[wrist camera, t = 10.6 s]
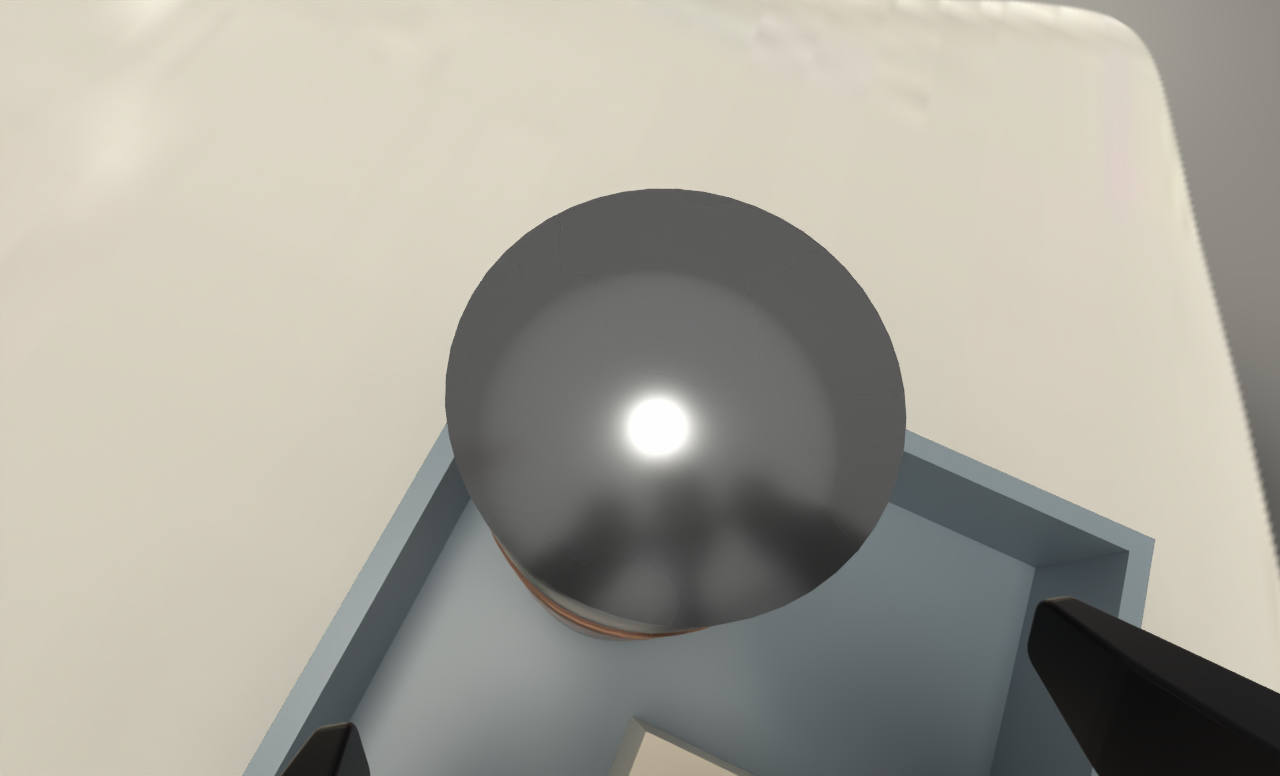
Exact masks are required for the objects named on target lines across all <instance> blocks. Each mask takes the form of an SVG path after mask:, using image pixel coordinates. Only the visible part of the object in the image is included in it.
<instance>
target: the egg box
mask: <svg viewBox="0 0 1280 776" xmlns="http://www.w3.org/2000/svg"><path fill="white" fill-rule="evenodd" d="M608 776H755V775H753V774H751V773H749V772H747V771H745V770H743V769H741V768H739V767H736V766H734V765H732V764H730V763H728V762H726V761H724V760H722V759H720V758H718V757H716V756H714V755H712V754H709V753H707V752H705V751H703V750H701V749H699V748H697V747H695V746H693V745H691V744H689V743H687V742H684V741H682V740H680V739H678V738H676V737H674V736H672V735H670V734H668V733H666V732H664V731H662V730H660V729H657V728H655V727H653V726H651V725H649V724H647V723H645V722H643V721H641V720H639V719H637V718H635V717H631V719H630V722H629V724H628V727H627V729H626V731H625V734H624V736H623V739H622V741H621V744H620V746H619V749H618V751H617V754H616V756H615V759H614V761H613V764H612V766H611V769H610V771H609V774H608Z"/></svg>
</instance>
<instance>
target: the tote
mask: <svg viewBox="0 0 1280 776" xmlns="http://www.w3.org/2000/svg"><path fill="white" fill-rule="evenodd" d="M1154 543H1155V539H1153V538H1150V537H1148V536H1146V535H1144V534H1141V533H1139V532H1137V531H1135V530H1132V529H1130V528H1128V527H1126V526H1123V525H1121V524H1119V523H1116V522H1114V521H1112V520H1110V519H1107V518H1105V517H1103V516H1101V515H1098V514H1096V513H1094V512H1092V511H1089V510H1087V509H1085V508H1083V507H1080V506H1078V505H1076V504H1073V503H1071V502H1069V501H1067V500H1064V499H1062V498H1060V497H1058V496H1055V495H1053V494H1051V493H1049V492H1046V491H1044V490H1042V489H1040V488H1037V487H1035V486H1033V485H1030V484H1028V483H1026V482H1024V481H1021V480H1019V479H1017V478H1015V477H1012V476H1010V475H1008V474H1006V473H1003V472H1001V471H999V470H997V469H994V468H992V467H990V466H987V465H985V464H983V463H981V462H978V461H976V460H974V459H972V458H969V457H967V456H965V455H963V454H960V453H958V452H956V451H954V450H951V449H949V448H947V447H944V446H942V445H940V444H938V443H935V442H933V441H931V440H929V439H926V438H924V437H922V436H920V435H917V434H915V433H913V432H911V431H908V430H905V446H904V451H903V456H902V461H901V466H900V470H899V475H898V478H897V480H896V483H895V486H894V489H893V492H892V494H891V497H890V500H889V502H888V504H887V506H886V508H885V510H884V512H883V514H882V515H881V517H880V519H879V521H878V523H877V525H876V527H875V528H874V530H873V531H872V532H871V534H870V535H869V536H868V538H867V539H866V541H865V542H864V543H863V545H862V546H861V547H860V549H859V550H858V551H857V552H856V553H855V554H854V555H853V556H852V557H851V558H850V559H849V560H848V561H847V562H846V563H845V564H844V565H843V566H842V567H841V569H840V570H839V571H838V572H837V573H835V574H834V575H833V576H831V577H830V578H829V579H827V580H826V581H825V582H823V583H822V584H821V585H819V586H818V587H817V588H815V589H814V590H813V591H811V592H809V593H808V594H806V595H804V596H802V597H800V598H798V599H797V600H795V601H793V602H791V603H789V604H787V605H786V606H784V607H781V608H778V609H776V610H773V611H770V612H767V613H765V614H762V615H759V616H757V617H754V618H750V619H745V620H740V621H736V622H731V623H726V624H722V625H716V626H712V627H709V628H706V629H704V630H700V631H695V632H691V633H686V634H681V635H676V636H669V637H661V638H654V639H647V640H637V641H612V640H602V639H597V638H592V637H589V636H586V635H583V634H580V633H577V632H575V631H574V630H572V629H570V628H568V627H566V626H564V625H563V624H562V623H560V622H559V621H557V620H556V619H555V618H553V617H552V616H551V615H550V614H549V613H548V612H547V611H546V610H545V609H544V608H543V607H542V606H541V605H540V604H539V603H538V602H537V601H536V600H535V599H534V597H533V596H532V595H531V594H530V592H529V591H528V590H527V588H526V587H525V586H524V584H523V583H522V581H521V580H520V578H519V577H518V576H517V574H516V573H515V571H514V570H513V568H512V567H511V566H510V564H509V563H508V561H507V560H506V558H505V557H504V555H503V553H502V552H501V550H500V548H499V546H498V545H497V543H496V541H495V540H494V538H493V535H492V533H491V531H490V528H489V527H488V525H487V524H486V522H485V521H484V519H483V517H482V516H481V514H480V512H479V511H478V509H477V507H476V506H475V504H474V502H473V501H472V499H471V497H470V496H469V494H468V491H467V489H466V487H465V484H464V482H463V479H462V477H461V475H460V472H459V470H458V468H457V465H456V461H455V458H454V454H453V450H452V446H451V442H450V438H449V434H448V425H447V423H446V425H445V427H444V428H443V430H442V432H441V433H440V435H439V437H438V439H437V440H436V442H435V444H434V446H433V447H432V449H431V451H430V452H429V454H428V456H427V458H426V459H425V461H424V463H423V465H422V466H421V468H420V470H419V471H418V473H417V475H416V477H415V478H414V480H413V482H412V484H411V485H410V487H409V489H408V490H407V492H406V494H405V496H404V497H403V499H402V501H401V503H400V504H399V506H398V508H397V509H396V511H395V513H394V515H393V516H392V518H391V520H390V522H389V523H388V525H387V527H386V528H385V530H384V532H383V534H382V535H381V537H380V539H379V541H378V542H377V544H376V546H375V547H374V549H373V551H372V553H371V554H370V556H369V558H368V560H367V561H366V563H365V565H364V566H363V568H362V570H361V572H360V573H359V575H358V577H357V579H356V580H355V582H354V584H353V585H352V587H351V589H350V591H349V592H348V594H347V596H346V597H345V599H344V601H343V603H342V604H341V606H340V608H339V610H338V611H337V613H336V615H335V616H334V618H333V620H332V622H331V623H330V625H329V627H328V629H327V630H326V632H325V634H324V635H323V637H322V639H321V641H320V642H319V644H318V646H317V648H316V649H315V651H314V653H313V654H312V656H311V658H310V660H309V661H308V663H307V665H306V667H305V668H304V670H303V672H302V673H301V675H300V677H299V679H298V680H297V682H296V684H295V686H294V687H293V689H292V691H291V692H290V694H289V696H288V698H287V699H286V701H285V703H284V705H283V706H282V708H281V710H280V711H279V713H278V715H277V717H276V718H275V720H274V722H273V724H272V725H271V727H270V729H269V730H268V732H267V734H266V736H265V737H264V739H263V741H262V743H261V744H260V746H259V748H258V749H257V751H256V753H255V755H254V756H253V758H252V760H251V761H250V763H249V765H248V767H247V768H246V770H245V772H244V774H243V775H242V776H280V775H281V774H282V772H283V771H284V770H285V768H286V767H287V766H288V764H289V763H290V762H291V761H292V759H293V758H294V757H295V755H296V754H297V753H298V751H299V750H300V749H301V748H302V746H303V745H304V744H305V742H306V741H307V740H308V738H309V737H310V736H311V735H312V733H313V732H314V731H315V730H317V729H318V728H319V727H322V726H326V725H331V724H337V723H343V722H353V723H354V724H355V725H356V727H357V729H358V731H359V735H360V738H361V741H362V744H363V748H364V751H365V754H366V758H367V761H368V764H369V768H370V776H608V774H609V771H610V769H611V766H612V764H613V761H614V759H615V756H616V754H617V751H618V749H619V746H620V744H621V741H622V739H623V736H624V734H625V731H626V729H627V727H628V724H629V722H630V719H631V717H635V718H637V719H639V720H641V721H643V722H645V723H647V724H649V725H651V726H653V727H655V728H657V729H660V730H662V731H664V732H666V733H668V734H670V735H672V736H674V737H676V738H678V739H680V740H682V741H684V742H687V743H689V744H691V745H693V746H695V747H697V748H699V749H701V750H703V751H705V752H707V753H709V754H712V755H714V756H716V757H718V758H720V759H722V760H724V761H726V762H728V763H730V764H732V765H734V766H736V767H739V768H741V769H743V770H745V771H747V772H749V773H751V774H753V775H755V776H1098V774H1097V773H1096V771H1095V770H1094V768H1093V767H1092V765H1091V763H1090V762H1089V760H1088V759H1087V757H1086V755H1085V754H1084V752H1083V751H1082V749H1081V747H1080V745H1079V744H1078V742H1077V740H1076V739H1075V737H1074V735H1073V734H1072V732H1071V730H1070V728H1069V727H1068V725H1067V723H1066V722H1065V720H1064V718H1063V717H1062V715H1061V713H1060V711H1059V710H1058V708H1057V706H1056V705H1055V703H1054V701H1053V700H1052V698H1051V696H1050V694H1049V693H1048V691H1047V689H1046V688H1045V686H1044V684H1043V682H1042V681H1041V679H1040V677H1039V676H1038V674H1037V672H1036V671H1035V669H1034V667H1033V665H1032V663H1031V661H1030V659H1029V656H1028V652H1027V641H1028V637H1029V633H1030V628H1031V624H1032V620H1033V616H1034V612H1035V608H1036V606H1037V604H1038V603H1039V602H1040V601H1042V600H1044V599H1050V598H1055V597H1061V596H1070V597H1074V598H1076V599H1079V600H1081V601H1083V602H1085V603H1087V604H1089V605H1091V606H1093V607H1096V608H1098V609H1100V610H1102V611H1104V612H1106V613H1108V614H1111V615H1113V616H1115V617H1117V618H1119V619H1121V620H1123V621H1126V622H1128V623H1130V624H1132V625H1134V626H1136V627H1138V628H1140V629H1141V625H1142V618H1143V612H1144V606H1145V600H1146V593H1147V587H1148V581H1149V575H1150V568H1151V562H1152V556H1153V550H1154Z"/></svg>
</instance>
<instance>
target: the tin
mask: <svg viewBox="0 0 1280 776" xmlns="http://www.w3.org/2000/svg"><path fill="white" fill-rule="evenodd" d="M445 408H446V417H447V425H448V434H449V438H450V442H451V446H452V450H453V454H454V458H455V461H456V465H457V468H458V470H459V472H460V475H461V477H462V479H463V482H464V484H465V487H466V489H467V491H468V494H469V496H470V497H471V499H472V501H473V502H474V504H475V506H476V507H477V509H478V511H479V512H480V514H481V516H482V517H483V519H484V521H485V522H486V524H487V525H488V527H489V528H490V531H491V533H492V535H493V538H494V540H495V541H496V543H497V545H498V546H499V548H500V550H501V552H502V553H503V555H504V557H505V558H506V560H507V561H508V563H509V564H510V566H511V567H512V568H513V570H514V571H515V573H516V574H517V576H518V577H519V578H520V580H521V581H522V583H523V584H524V586H525V587H526V588H527V590H528V591H529V592H530V594H531V595H532V596H533V597H534V599H535V600H536V601H537V602H538V603H539V604H540V605H541V606H542V607H543V608H544V609H545V610H546V611H547V612H548V613H549V614H550V615H551V616H552V617H553V618H555V619H556V620H557V621H559V622H560V623H562V624H563V625H564V626H566V627H568V628H570V629H572V630H574V631H575V632H577V633H580V634H583V635H586V636H589V637H592V638H597V639H602V640H612V641H637V640H647V639H654V638H661V637H669V636H676V635H681V634H686V633H691V632H695V631H700V630H704V629H706V628H709V627H712V626H716V625H722V624H726V623H731V622H736V621H740V620H745V619H750V618H754V617H757V616H759V615H762V614H765V613H767V612H770V611H773V610H776V609H778V608H781V607H784V606H786V605H787V604H789V603H791V602H793V601H795V600H797V599H798V598H800V597H802V596H804V595H806V594H808V593H809V592H811V591H813V590H814V589H815V588H817V587H818V586H819V585H821V584H822V583H823V582H825V581H826V580H827V579H829V578H830V577H831V576H833V575H834V574H835V573H837V572H838V571H839V570H840V569H841V567H842V566H843V565H844V564H845V563H846V562H847V561H848V560H849V559H850V558H851V557H852V556H853V555H854V554H855V553H856V552H857V551H858V550H859V549H860V547H861V546H862V545H863V543H864V542H865V541H866V539H867V538H868V536H869V535H870V534H871V532H872V531H873V530H874V528H875V527H876V525H877V523H878V521H879V519H880V517H881V515H882V514H883V512H884V510H885V508H886V506H887V504H888V502H889V500H890V497H891V494H892V492H893V489H894V486H895V483H896V480H897V478H898V475H899V470H900V466H901V461H902V456H903V451H904V446H905V430H906V408H905V394H904V387H903V382H902V377H901V372H900V367H899V363H898V360H897V357H896V354H895V351H894V348H893V345H892V342H891V339H890V337H889V334H888V332H887V330H886V328H885V326H884V324H883V322H882V320H881V318H880V316H879V314H878V312H877V310H876V309H875V307H874V306H873V304H872V303H871V301H870V300H869V298H868V296H867V295H866V293H865V292H864V290H863V289H862V288H861V286H860V285H859V284H858V283H857V281H856V280H855V279H854V278H853V277H852V275H851V274H850V273H849V272H848V271H847V269H846V268H845V267H844V266H843V265H842V264H841V263H840V262H839V261H838V260H837V259H836V258H835V257H834V256H832V255H831V254H830V253H829V252H828V251H827V250H826V249H825V248H824V247H823V246H821V245H820V244H819V243H817V242H816V241H815V240H813V239H812V238H811V237H810V236H808V235H807V234H806V233H804V232H803V231H801V230H799V229H798V228H796V227H795V226H793V225H791V224H790V223H788V222H786V221H785V220H783V219H781V218H779V217H777V216H775V215H773V214H771V213H769V212H767V211H764V210H762V209H760V208H758V207H756V206H753V205H750V204H747V203H744V202H741V201H738V200H735V199H732V198H729V197H725V196H720V195H716V194H711V193H707V192H700V191H691V190H682V189H645V190H636V191H627V192H621V193H617V194H612V195H608V196H604V197H599V198H596V199H593V200H590V201H588V202H585V203H582V204H579V205H576V206H574V207H571V208H569V209H567V210H565V211H563V212H561V213H559V214H557V215H555V216H553V217H551V218H549V219H547V220H546V221H544V222H543V223H541V224H540V225H538V226H537V227H535V228H534V229H532V230H531V231H529V232H528V233H526V234H525V235H524V236H523V237H522V238H521V239H519V240H518V241H517V242H516V243H515V244H514V245H513V246H511V247H510V248H509V249H508V250H507V251H506V252H505V253H504V254H503V255H502V256H501V257H500V258H499V259H498V261H497V262H496V263H495V264H494V265H493V266H492V267H491V269H490V270H489V271H488V272H487V273H486V275H485V276H484V278H483V279H482V281H481V282H480V284H479V285H478V287H477V288H476V290H475V291H474V293H473V294H472V296H471V298H470V300H469V302H468V304H467V306H466V308H465V310H464V312H463V314H462V317H461V319H460V321H459V324H458V327H457V330H456V333H455V336H454V339H453V343H452V346H451V350H450V356H449V362H448V367H447V373H446V395H445Z"/></svg>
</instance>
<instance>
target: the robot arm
mask: <svg viewBox="0 0 1280 776" xmlns="http://www.w3.org/2000/svg"><path fill="white" fill-rule="evenodd" d="M1027 652H1028V656H1029V659H1030V661H1031V663H1032V665H1033V667H1034V669H1035V671H1036V672H1037V674H1038V676H1039V677H1040V679H1041V681H1042V682H1043V684H1044V686H1045V688H1046V689H1047V691H1048V693H1049V694H1050V696H1051V698H1052V700H1053V701H1054V703H1055V705H1056V706H1057V708H1058V710H1059V711H1060V713H1061V715H1062V717H1063V718H1064V720H1065V722H1066V723H1067V725H1068V727H1069V728H1070V730H1071V732H1072V734H1073V735H1074V737H1075V739H1076V740H1077V742H1078V744H1079V745H1080V747H1081V749H1082V751H1083V752H1084V754H1085V755H1086V757H1087V759H1088V760H1089V762H1090V763H1091V765H1092V767H1093V768H1094V770H1095V771H1096V773H1097V774H1098V776H1280V694H1279V693H1277V692H1275V691H1273V690H1271V689H1269V688H1267V687H1264V686H1262V685H1260V684H1258V683H1256V682H1254V681H1252V680H1249V679H1247V678H1245V677H1243V676H1241V675H1239V674H1237V673H1234V672H1232V671H1230V670H1228V669H1226V668H1224V667H1222V666H1220V665H1217V664H1215V663H1213V662H1211V661H1209V660H1207V659H1205V658H1202V657H1200V656H1198V655H1196V654H1194V653H1192V652H1190V651H1187V650H1185V649H1183V648H1181V647H1179V646H1177V645H1175V644H1173V643H1170V642H1168V641H1166V640H1164V639H1162V638H1160V637H1158V636H1155V635H1153V634H1151V633H1149V632H1147V631H1145V630H1143V629H1140V628H1138V627H1136V626H1134V625H1132V624H1130V623H1128V622H1126V621H1123V620H1121V619H1119V618H1117V617H1115V616H1113V615H1111V614H1108V613H1106V612H1104V611H1102V610H1100V609H1098V608H1096V607H1093V606H1091V605H1089V604H1087V603H1085V602H1083V601H1081V600H1079V599H1076V598H1074V597H1070V596H1061V597H1055V598H1050V599H1044V600H1042V601H1040V602H1039V603H1038V604H1037V606H1036V608H1035V612H1034V616H1033V620H1032V624H1031V628H1030V633H1029V637H1028V641H1027ZM280 776H370V768H369V764H368V761H367V758H366V754H365V751H364V748H363V744H362V741H361V738H360V735H359V731H358V729H357V727H356V725H355V724H354V723H353V722H343V723H337V724H331V725H326V726H322V727H319V728H318V729H317V730H315V731H314V732H313V733H312V735H311V736H310V737H309V738H308V740H307V741H306V742H305V744H304V745H303V746H302V748H301V749H300V750H299V751H298V753H297V754H296V755H295V757H294V758H293V759H292V761H291V762H290V763H289V764H288V766H287V767H286V768H285V770H284V771H283V772H282V774H281V775H280Z"/></svg>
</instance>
